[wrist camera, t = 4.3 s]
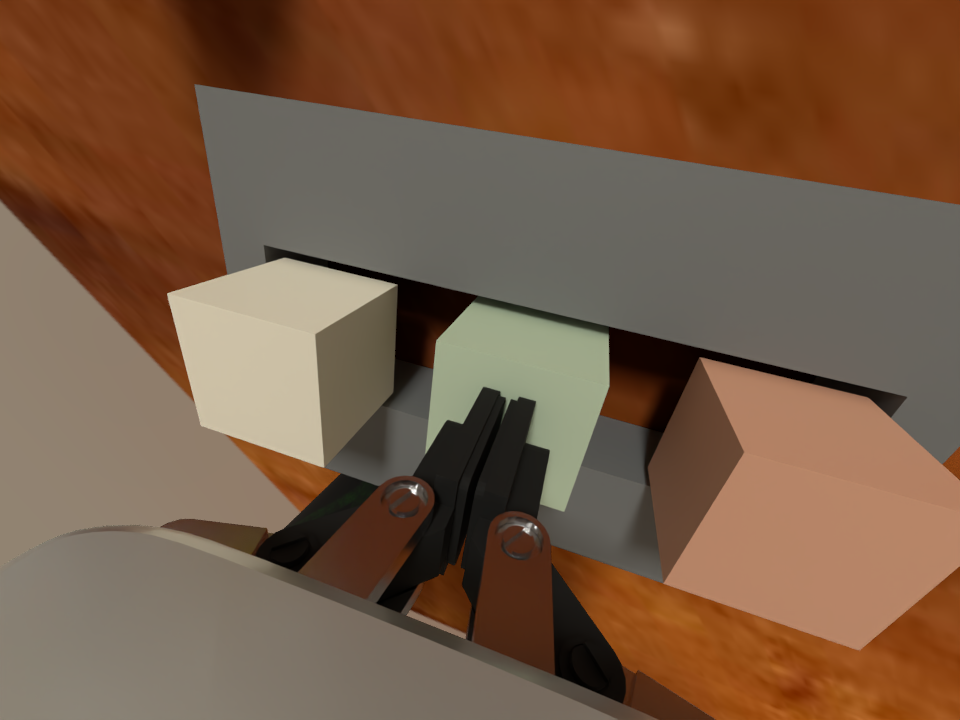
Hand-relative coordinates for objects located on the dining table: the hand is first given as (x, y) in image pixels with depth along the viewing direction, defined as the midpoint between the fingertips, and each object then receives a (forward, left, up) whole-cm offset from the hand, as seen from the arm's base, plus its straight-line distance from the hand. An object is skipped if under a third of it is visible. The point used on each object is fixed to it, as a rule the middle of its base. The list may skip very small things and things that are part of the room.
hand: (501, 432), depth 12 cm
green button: (0, 0, -5) cm, 5 cm away
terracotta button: (-8, 0, -4) cm, 9 cm away
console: (0, 0, -7) cm, 7 cm away
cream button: (+8, 0, -4) cm, 9 cm away
